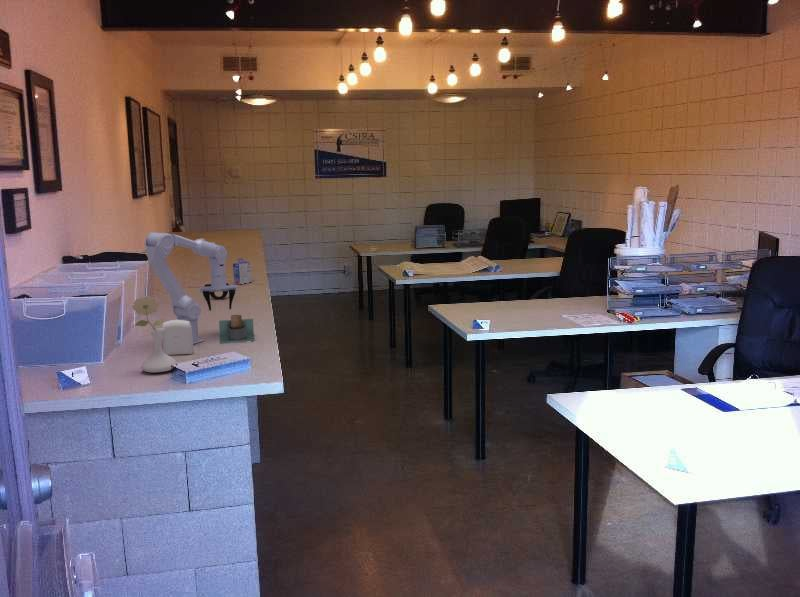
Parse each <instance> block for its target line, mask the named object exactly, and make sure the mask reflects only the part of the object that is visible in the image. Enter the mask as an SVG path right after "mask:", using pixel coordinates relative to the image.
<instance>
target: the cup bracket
mask: <svg viewBox="0 0 800 597" xmlns="http://www.w3.org/2000/svg"><path fill="white" fill-rule="evenodd" d="M218 326H219V344H220V345H222V344H236V343H237V344H238V342H239V343H248V342H247V341H255V340H256V337H255V332H254V331H255V330H254V319H253V318H245V319H244V318H242V328H240V329H231V319H226V320H218ZM255 342H256V341H255Z"/></svg>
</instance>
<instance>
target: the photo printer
mask: <svg viewBox="0 0 800 597" xmlns="http://www.w3.org/2000/svg"><path fill="white" fill-rule="evenodd" d="M161 328H164V329H165V330H164V331H163V333H162V342H163V343H162V344H163V347H162V348H163V352H164V353H165V354H167V355H168V356H175V355H191V354H194V344H193V340H192V327H191V324H190V322H189V321H185V320H178V319H172V320H167V321H164V322H162V326H161Z"/></svg>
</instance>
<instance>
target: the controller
mask: <svg viewBox="0 0 800 597" xmlns="http://www.w3.org/2000/svg"><path fill="white" fill-rule="evenodd" d="M226 285H230V284H229V283H228V282H226ZM208 286H211V283H208V284H207V283H206V284H204V286H203V287H208ZM222 290H224V289H222ZM221 292H222V294H221V295H220V296H217V295H216V294H215V292H210V298H213V299H214V300H218V299H220V300H224V299H225V298H226V297H227V295H229V291H221Z"/></svg>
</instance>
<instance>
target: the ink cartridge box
mask: <svg viewBox="0 0 800 597" xmlns="http://www.w3.org/2000/svg"><path fill="white" fill-rule="evenodd" d="M237 261H238V262H236V263H232V270H233V280H234V284H233V285H237V284H242V285H245V284H244V283H247V284H250V283H249V282H252V283H253V276H252V262H251V261H244V258H242V257H240V258H237Z"/></svg>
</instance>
